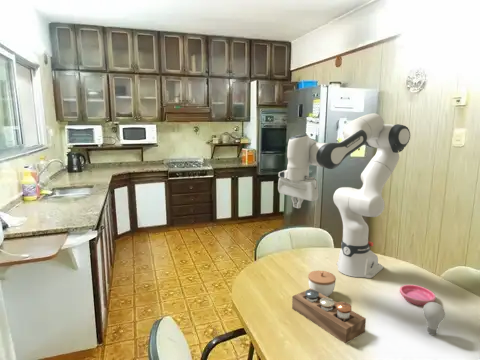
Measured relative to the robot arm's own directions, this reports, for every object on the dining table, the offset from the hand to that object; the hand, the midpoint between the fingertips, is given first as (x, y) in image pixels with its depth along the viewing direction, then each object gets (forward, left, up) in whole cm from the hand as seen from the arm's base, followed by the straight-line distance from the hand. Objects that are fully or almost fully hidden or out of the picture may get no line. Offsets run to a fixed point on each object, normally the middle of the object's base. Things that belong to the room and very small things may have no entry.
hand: (296, 207), depth 132 cm
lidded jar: (-3, +12, -34) cm, 37 cm away
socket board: (+9, +25, -34) cm, 43 cm away
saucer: (-31, +36, -35) cm, 59 cm away
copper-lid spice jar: (+9, +32, -32) cm, 46 cm away
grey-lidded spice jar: (+9, +18, -33) cm, 39 cm away
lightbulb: (-13, +50, -34) cm, 62 cm away
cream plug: (+9, +25, -33) cm, 43 cm away
